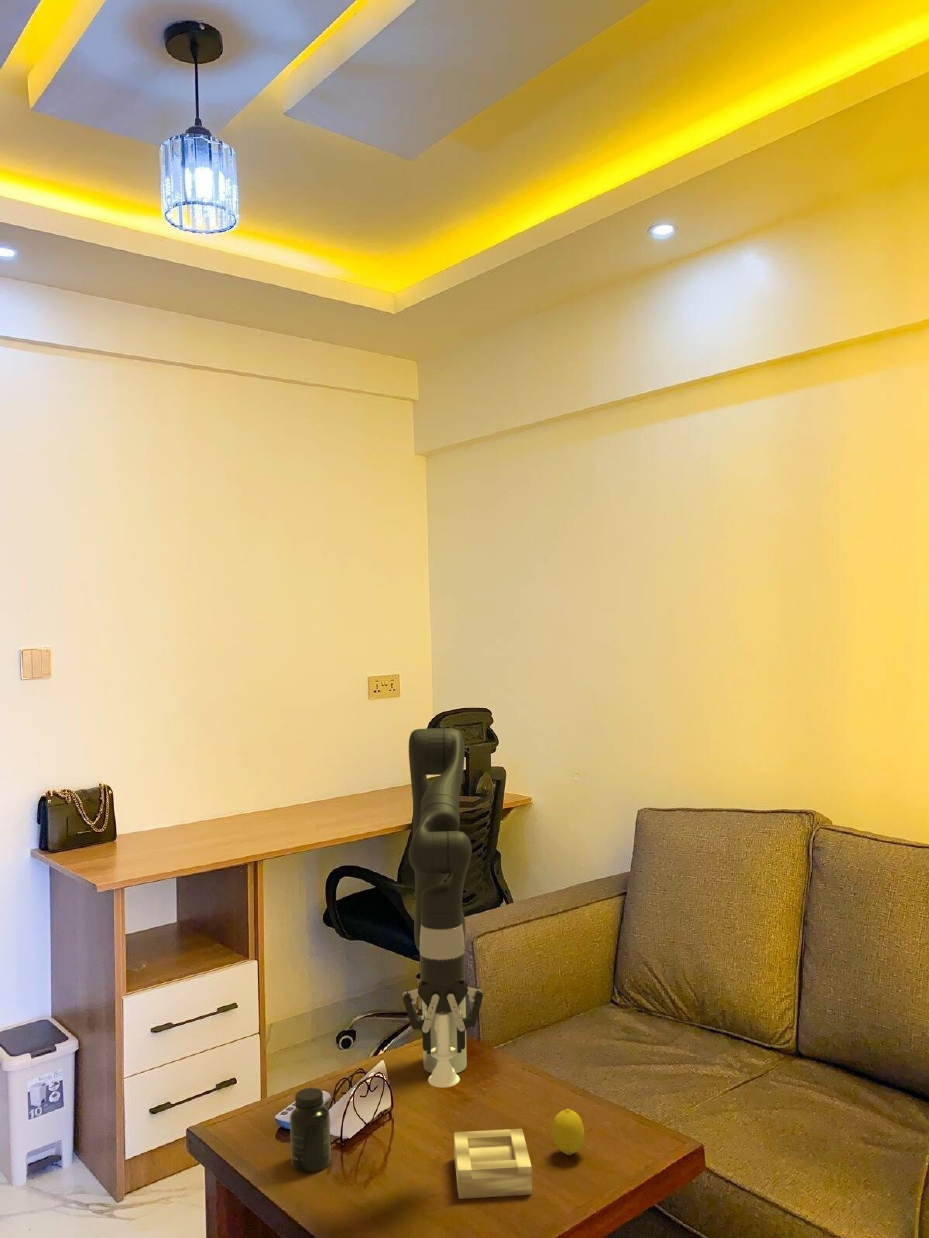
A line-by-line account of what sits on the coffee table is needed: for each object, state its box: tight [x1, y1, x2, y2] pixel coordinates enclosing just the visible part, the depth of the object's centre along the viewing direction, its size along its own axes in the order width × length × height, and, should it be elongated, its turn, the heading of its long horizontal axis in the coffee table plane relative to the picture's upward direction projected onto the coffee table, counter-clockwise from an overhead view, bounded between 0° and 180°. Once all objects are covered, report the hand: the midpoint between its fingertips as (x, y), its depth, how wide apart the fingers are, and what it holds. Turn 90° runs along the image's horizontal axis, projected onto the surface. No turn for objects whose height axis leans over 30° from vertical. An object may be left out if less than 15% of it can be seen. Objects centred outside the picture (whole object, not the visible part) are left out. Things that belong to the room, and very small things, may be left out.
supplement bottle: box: [289, 1087, 332, 1174], centre depth 164 cm, size 7×7×12 cm
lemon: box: [551, 1108, 585, 1156], centre depth 165 cm, size 6×6×8 cm
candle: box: [427, 1011, 461, 1088], centre depth 159 cm, size 5×5×12 cm
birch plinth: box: [453, 1128, 533, 1200], centre depth 159 cm, size 12×12×4 cm
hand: (443, 1051), depth 159 cm, fingers closed on candle, 4 cm apart
